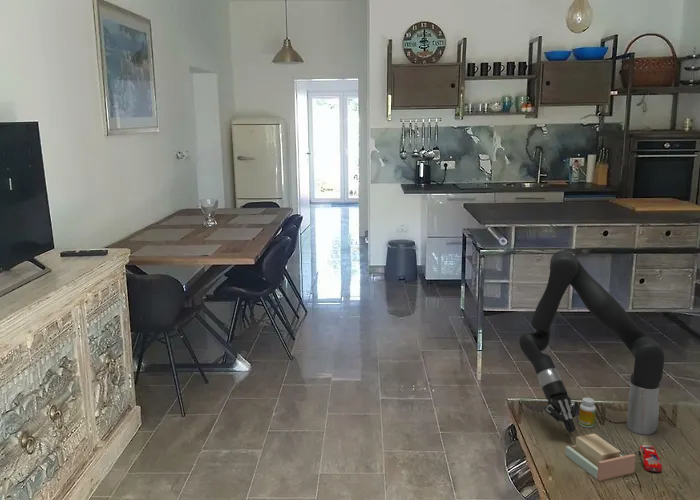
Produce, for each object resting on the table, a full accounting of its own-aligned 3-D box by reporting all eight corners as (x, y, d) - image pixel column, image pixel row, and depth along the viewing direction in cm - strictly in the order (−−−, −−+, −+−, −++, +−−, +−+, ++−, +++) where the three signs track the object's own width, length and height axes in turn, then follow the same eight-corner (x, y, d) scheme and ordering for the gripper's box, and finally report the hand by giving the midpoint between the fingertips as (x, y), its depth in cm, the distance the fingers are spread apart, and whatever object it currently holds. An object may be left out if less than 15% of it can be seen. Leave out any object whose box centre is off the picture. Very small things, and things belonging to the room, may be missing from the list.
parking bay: (598, 447, 202) (599, 431, 201) (634, 472, 187) (635, 455, 186) (565, 454, 198) (566, 438, 197) (599, 481, 183) (600, 463, 182)
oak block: (592, 452, 199) (594, 433, 198) (618, 471, 188) (620, 451, 187) (575, 456, 197) (576, 436, 196) (600, 475, 186) (602, 455, 185)
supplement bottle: (593, 429, 214) (594, 404, 212) (577, 425, 217) (579, 401, 215) (595, 423, 219) (597, 398, 217) (580, 419, 222) (582, 395, 220)
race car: (662, 475, 186) (664, 464, 185) (643, 473, 188) (644, 461, 187) (655, 453, 198) (656, 442, 198) (637, 451, 200) (638, 440, 199)
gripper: (541, 382, 207) (561, 431, 199) (572, 377, 212) (594, 424, 203) (531, 390, 213) (550, 438, 205) (561, 385, 218) (582, 431, 209)
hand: (572, 431), depth 204 cm, fingers closed
